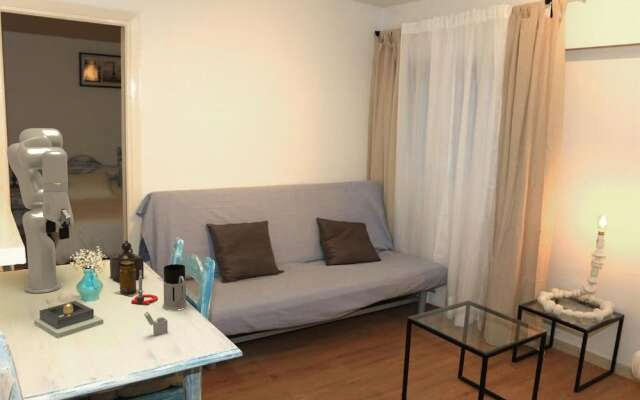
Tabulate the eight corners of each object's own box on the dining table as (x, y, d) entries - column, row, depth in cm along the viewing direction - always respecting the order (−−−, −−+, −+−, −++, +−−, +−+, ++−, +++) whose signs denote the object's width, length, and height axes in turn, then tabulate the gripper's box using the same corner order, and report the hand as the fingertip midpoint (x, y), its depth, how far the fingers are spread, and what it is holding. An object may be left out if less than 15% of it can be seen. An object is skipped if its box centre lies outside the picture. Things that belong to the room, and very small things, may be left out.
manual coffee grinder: (108, 278, 214) (106, 236, 211) (133, 273, 222) (131, 233, 219) (124, 287, 204) (123, 244, 201) (150, 281, 212) (149, 240, 209)
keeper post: (62, 319, 168) (61, 303, 167) (71, 316, 170) (70, 301, 169) (66, 322, 166) (65, 306, 165) (75, 319, 168) (74, 303, 167)
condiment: (128, 287, 204) (127, 259, 202) (144, 291, 201) (144, 262, 199) (114, 293, 198) (113, 263, 196) (130, 297, 194) (130, 267, 192)
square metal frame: (39, 319, 168) (39, 310, 167) (75, 308, 177) (75, 300, 176) (57, 329, 160) (57, 320, 160) (93, 318, 170) (93, 309, 169)
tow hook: (141, 296, 196) (128, 303, 187) (141, 263, 195) (128, 269, 186) (161, 298, 195) (149, 306, 186) (161, 265, 194) (150, 271, 185)
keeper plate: (34, 324, 167) (34, 319, 167) (78, 311, 179) (78, 307, 179) (58, 338, 158) (57, 333, 157) (103, 323, 170) (103, 319, 169)
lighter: (165, 330, 166) (165, 307, 164) (167, 332, 164) (167, 309, 163) (144, 336, 161) (143, 312, 160) (145, 338, 160) (145, 314, 159)
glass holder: (182, 300, 193) (182, 262, 190) (196, 313, 181) (195, 272, 178) (159, 304, 188) (158, 265, 185) (171, 317, 176) (171, 276, 174)
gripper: (32, 184, 174) (34, 232, 177) (56, 192, 163) (58, 243, 167) (55, 182, 179) (56, 228, 183) (79, 190, 169) (80, 239, 172)
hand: (57, 235), depth 175 cm, fingers open, 9 cm apart
